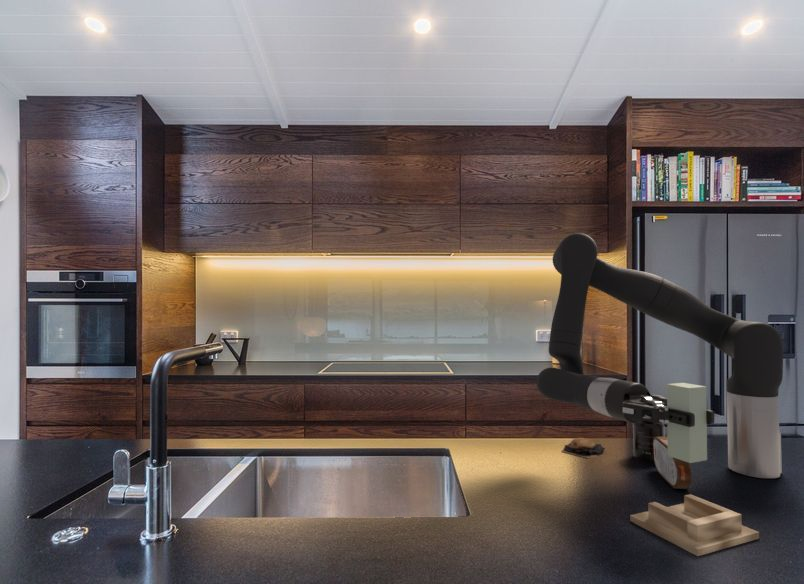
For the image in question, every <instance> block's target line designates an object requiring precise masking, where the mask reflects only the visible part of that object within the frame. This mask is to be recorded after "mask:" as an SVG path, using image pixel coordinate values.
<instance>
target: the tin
mask: <svg viewBox="0 0 804 584" xmlns="http://www.w3.org/2000/svg"><path fill="white" fill-rule="evenodd" d="M653 450H654V462H655V463H654V465H655V467H656V471H657V472H658V474H659V475H660V476H661V477H662V478H663V480H665V481H666V482H667V483H668V484H669V485H670V487H671V488H673V489H677V490H690V488H691V487H692V481H693V480H692V475H693V474H692V468H691V463H688V462H685V461H682V460H679V459H677V458H674V457H671V456H668V438H667V435H666V436H665V437H655V438H654V439H653Z"/></svg>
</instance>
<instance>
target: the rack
mask: <svg viewBox="0 0 804 584" xmlns="http://www.w3.org/2000/svg"><path fill="white" fill-rule="evenodd" d="M683 500H684V501H683V503H679V504H674V505H670V506H665V505H663V504H661V503H659V502H657V501H653V502H648V503H647V508H648V509H647V510H648V511H643V512H638V513H634V514H630V515H629V516H630V518H629V519H630V520H629V521H630V522H632V523H633V524H635V525H637V526H638V527H640V528H642V529H645V530H646V531H649V532H650V533H652V534H654V535H656V536H658V537H660V538H662V539H664V540H666V541H668V542H669V543H672V544H673V545H675V546H677V547H679V548H681V549H683V550H685V551H687V552H688V553H690V554H692V555H695V556H696V557H701V556H704V555H707V554H710V553H714V552H718V551H721V550H724V549H728V548H731V547H735V546H738V545H742V544H744V543H749V542H752V541H756V540H759V539H760V532H759V531H758V530H755V529H752V528H750V527H748V526H745V525H743V524H742V523H743V521H742V519H743V518H742V513H739V512H736V511H733V510H731V509H729V508H726V507H724V506H722V505H719V504H717V503H713V502H710V501H709V500H706V499H704V498H701V497H698V496H696V495H693V494H692V493H690V494H685V495H683Z"/></svg>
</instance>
